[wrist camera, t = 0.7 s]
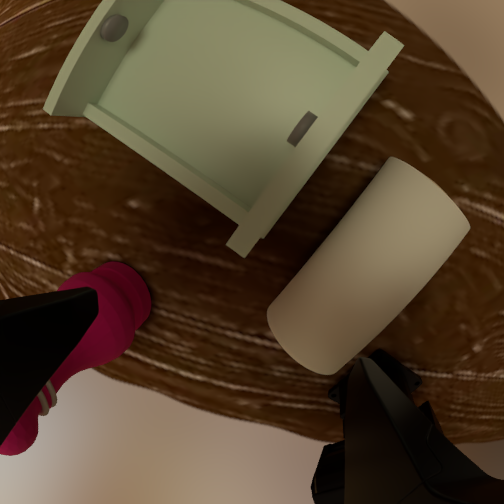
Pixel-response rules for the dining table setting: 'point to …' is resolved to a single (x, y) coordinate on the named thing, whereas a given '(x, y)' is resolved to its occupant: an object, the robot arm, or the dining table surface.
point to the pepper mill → (90, 340)
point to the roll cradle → (222, 95)
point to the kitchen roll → (367, 268)
